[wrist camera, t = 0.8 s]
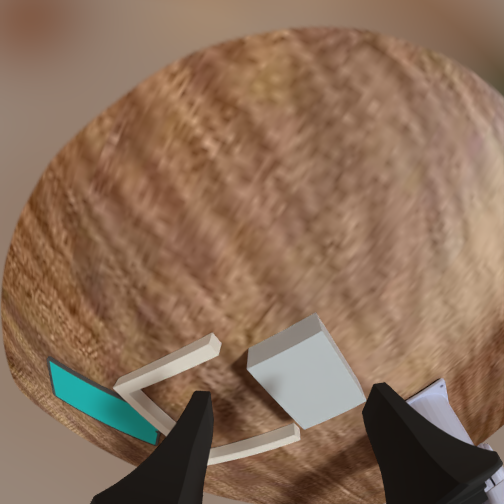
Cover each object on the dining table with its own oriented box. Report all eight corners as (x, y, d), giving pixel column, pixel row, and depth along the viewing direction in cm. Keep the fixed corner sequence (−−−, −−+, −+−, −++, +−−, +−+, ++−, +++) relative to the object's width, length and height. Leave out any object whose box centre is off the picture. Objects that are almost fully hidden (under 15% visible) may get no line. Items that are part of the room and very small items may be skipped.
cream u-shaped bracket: (299, 428, 24) (300, 439, 22) (207, 455, 26) (205, 465, 25) (212, 332, 21) (208, 343, 19) (119, 377, 23) (112, 387, 22)
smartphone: (46, 357, 23) (163, 416, 24) (50, 353, 24) (166, 410, 25) (53, 395, 25) (156, 447, 26) (56, 391, 26) (158, 442, 27)
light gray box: (357, 379, 22) (366, 400, 19) (301, 406, 23) (304, 429, 21) (315, 310, 20) (322, 330, 18) (248, 345, 22) (246, 368, 19)
